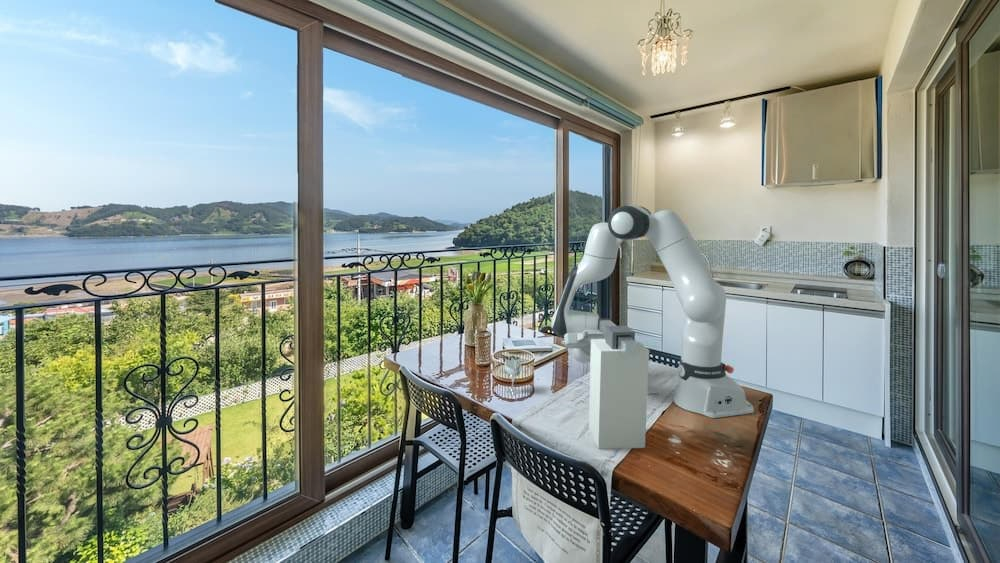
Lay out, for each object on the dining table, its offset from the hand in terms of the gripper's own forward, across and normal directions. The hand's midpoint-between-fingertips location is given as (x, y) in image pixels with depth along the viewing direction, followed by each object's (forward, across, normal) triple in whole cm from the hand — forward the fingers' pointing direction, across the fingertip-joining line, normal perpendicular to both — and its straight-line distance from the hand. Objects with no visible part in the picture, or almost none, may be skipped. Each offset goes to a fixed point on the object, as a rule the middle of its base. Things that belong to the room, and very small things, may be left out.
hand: (601, 333), depth 119 cm
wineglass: (-24, -26, +14) cm, 38 cm away
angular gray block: (+13, 0, +5) cm, 14 cm away
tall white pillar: (+2, 0, +29) cm, 29 cm away
